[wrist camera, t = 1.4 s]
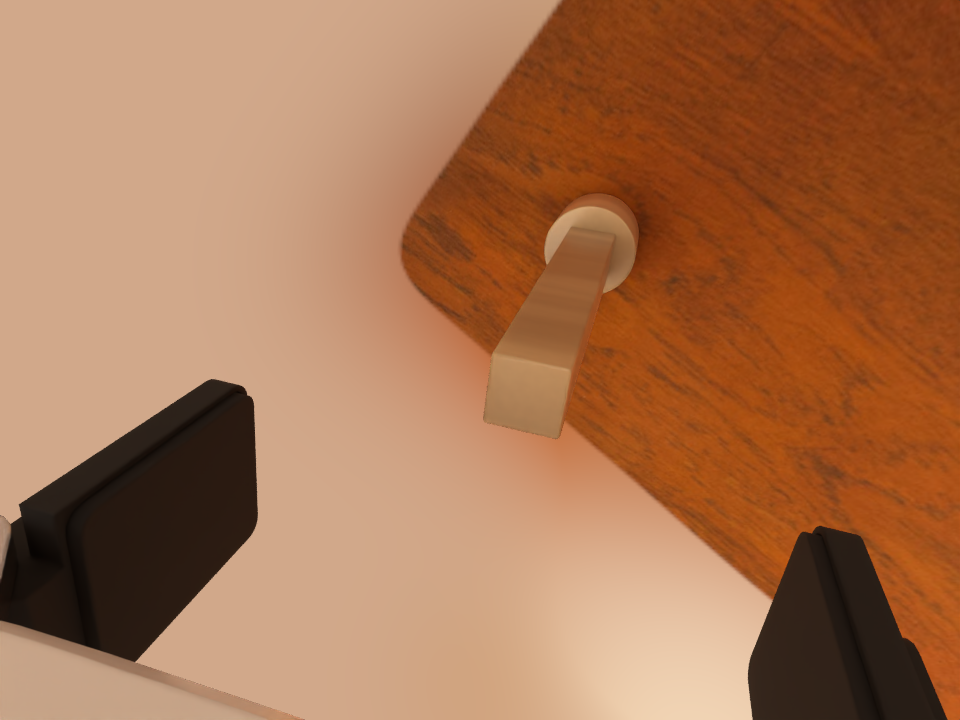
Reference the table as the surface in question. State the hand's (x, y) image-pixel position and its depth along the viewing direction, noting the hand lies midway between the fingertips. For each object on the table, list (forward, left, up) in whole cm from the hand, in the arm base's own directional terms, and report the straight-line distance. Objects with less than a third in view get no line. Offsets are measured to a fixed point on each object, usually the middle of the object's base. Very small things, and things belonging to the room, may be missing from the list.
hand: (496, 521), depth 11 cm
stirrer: (0, 0, -20) cm, 20 cm away
